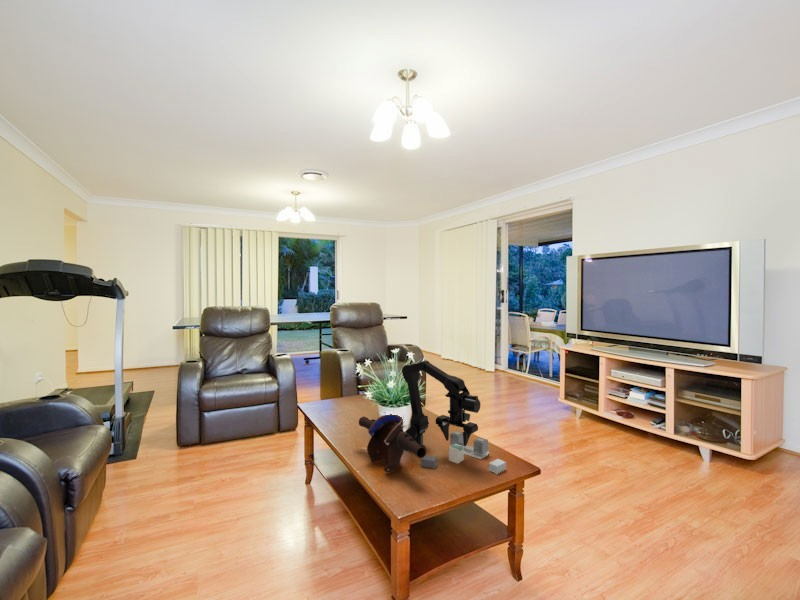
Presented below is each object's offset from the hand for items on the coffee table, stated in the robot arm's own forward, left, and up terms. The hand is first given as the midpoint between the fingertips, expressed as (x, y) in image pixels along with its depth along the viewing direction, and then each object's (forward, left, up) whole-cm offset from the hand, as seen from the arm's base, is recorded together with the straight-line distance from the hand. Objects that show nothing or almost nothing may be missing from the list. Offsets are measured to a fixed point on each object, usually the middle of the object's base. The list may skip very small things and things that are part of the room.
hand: (456, 443), depth 167 cm
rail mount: (+11, 0, -8) cm, 13 cm away
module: (0, 0, -8) cm, 8 cm away
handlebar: (-23, +19, -8) cm, 31 cm away
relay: (-12, +6, -8) cm, 15 cm away
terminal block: (+3, -18, -8) cm, 20 cm away
